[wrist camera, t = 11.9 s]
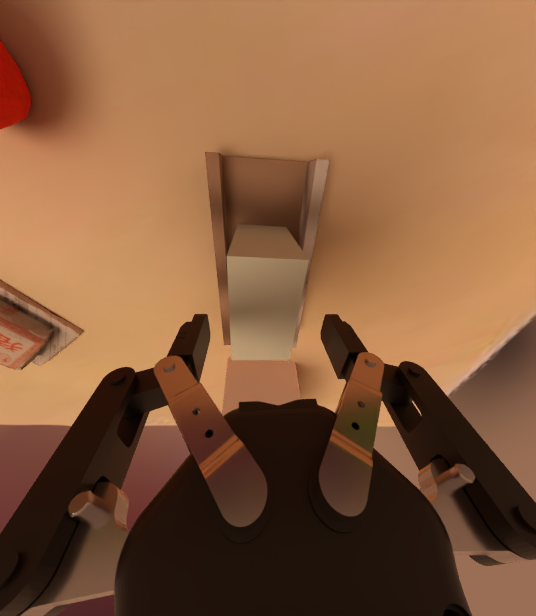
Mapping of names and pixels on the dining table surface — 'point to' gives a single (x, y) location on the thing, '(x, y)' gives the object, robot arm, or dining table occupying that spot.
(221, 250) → the wooden tray
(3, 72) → the apple
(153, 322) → the dining table surface
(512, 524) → the robot arm
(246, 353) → the carton
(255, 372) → the milk
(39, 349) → the packaged product
